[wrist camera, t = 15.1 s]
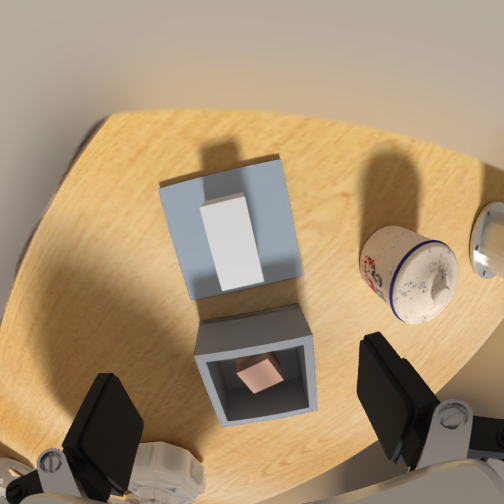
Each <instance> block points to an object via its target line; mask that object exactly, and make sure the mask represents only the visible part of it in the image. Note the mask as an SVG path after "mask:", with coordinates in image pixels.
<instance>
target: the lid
mask: <svg viewBox="0 0 504 504" xmlns="http://www.w3.org/2000/svg"><path fill="white" fill-rule="evenodd" d="M158 190H159V194H160V198H161V202H162V206H163V209H164V213H165V217H166V220H167V224H168V228H169V231H170V235H171V238H172V241H173V245H174V248H175V252H176V255H177V258H178V262H179V265H180V268H181V271H182V274H183V278H184V281H185V284H186V287H187V290H188V293H189V296H190V299H191V301H192V300H197V299H202V298H206V297H211V296H216V295H220V294H225V293H229V292H234V291H238V290H243V289H247V288H252V287H256V286H260V285H265V284H269V283H273V282H277V281H281V280H286V279H290V278H294V277H298V276H302V275H303V274H302V268H301V262H300V256H299V251H298V245H297V240H296V234H295V229H294V223H293V218H292V213H291V208H290V203H289V198H288V193H287V188H286V183H285V178H284V173H283V169H282V164H281V159H279V160H274V161H269V162H264V163H259V164H255V165H250V166H245V167H241V168H236V169H232V170H228V171H224V172H219V173H215V174H211V175H207V176H203V177H199V178H196V179H192V180H188V181H184V182H181V183H177V184H173V185H170V186H166V187H163V188H160V189H158Z"/></svg>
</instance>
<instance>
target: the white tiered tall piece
mask: <svg viewBox="0 0 504 504" xmlns="http://www.w3.org/2000/svg"><path fill="white" fill-rule="evenodd" d="M205 476H206V473H205V467H204V466H203V465H202V464H201V463H200V462H199V461H198V460H197V459H196V458H195V457H194V456H193V455H192V454H191V453H190V452H189V450H185V449H183V448H181V447H178V446H174V445H171V444H168V443H165V442H162V441H160V442H149V443H139V446H138V450H137V454H136V458H135V462H134V466H133V470H132V474H131V478H130V482H129V486H128V490H130V491H131V492H132V493H134V494H135V495H137V496H138V497H140V498H139V502H141V503H143V504H190V503H192V502H193V501H194V500H195V499H196V498H198V497H199V496H200V495H201V494H202V493H204V490H205ZM109 498H110V500H111V502H112V504H132V503H129V502H126V501H123V500H120V499H117V498H113V497H109Z"/></svg>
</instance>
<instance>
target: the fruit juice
mask: <svg viewBox="0 0 504 504" xmlns="http://www.w3.org/2000/svg"><path fill="white" fill-rule="evenodd" d="M139 498H140V497H138V496H137V495H135V494H134V493H128V494H127V495H126V498H125V501H126V502H129V503H132V504H143V503H141V502H139Z"/></svg>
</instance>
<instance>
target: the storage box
mask: <svg viewBox="0 0 504 504" xmlns="http://www.w3.org/2000/svg"><path fill="white" fill-rule="evenodd" d="M271 351H273V352H274V354H275V355H276V357H277V358H278V359H279V362H280V366H281V371H282V375H283V379H284V380H283V381H281V382H279V383H277V384H274V385H272V386H270V387H268V388H266V389H263V390H261V391H259V392H256V393H253V392H252V391H251V389H250V388H249V387H248V386H247V385H246V384H245V383H244V381H243V380H242V379H241V378H240V377H239V376H238V374H237V372H236V358H237V357H244V356H249V355H255V354H261V353H266V352H271ZM194 358H195V361H196V364H197V366H198V369H199V372H200V374H201V377H202V380H203V382H204V385H205V388H206V390H207V393H208V395H209V398H210V400H211V403H212V405H213V408H214V410H215V412H216V415H217V417H218V419H219V422H220V424H221V426H222V427H227V426H235V425H243V424H250V423H257V422H263V421H269V420H275V419H280V418H285V417H290V416H295V415H300V414H304V413H309V412H313V411H317V410H318V408H317V388H316V372H315V358H314V345H313V334H312V332H311V330H310V328H309V326H308V323H307V321H306V319H305V317H304V315H303V313H302V310H301V308H300V306H299V304H293V305H288V306H283V307H278V308H273V309H268V310H263V311H257V312H252V313H247V314H241V315H235V316H229V317H224V318H218V319H211V320H205V321H200V324H199V329H198V335H197V340H196V346H195V351H194Z"/></svg>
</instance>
